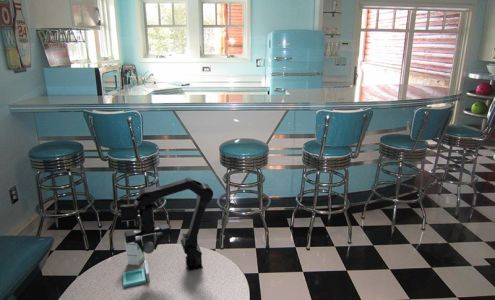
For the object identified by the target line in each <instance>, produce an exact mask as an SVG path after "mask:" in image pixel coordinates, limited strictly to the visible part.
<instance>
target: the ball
mask: <svg viewBox="0 0 495 300" xmlns="http://www.w3.org/2000/svg"><path fill="white" fill-rule="evenodd" d="M143 251H144V254H147V255H148V254H152V253H153V252H154V251H155V246H154V242H152V241H146V242H144V243H143Z"/></svg>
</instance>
